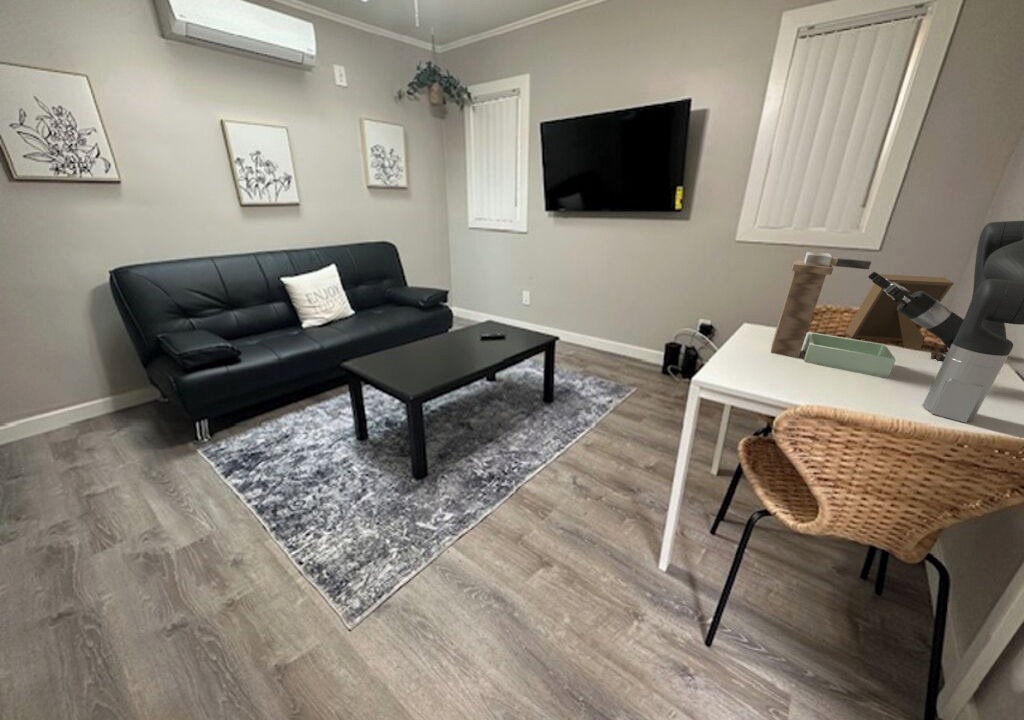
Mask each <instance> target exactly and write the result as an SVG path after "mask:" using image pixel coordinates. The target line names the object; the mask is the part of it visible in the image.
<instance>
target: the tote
mask: <svg viewBox="0 0 1024 720" xmlns="http://www.w3.org/2000/svg"><path fill="white" fill-rule="evenodd" d="M802 353H803V354H802V355H803V361H804V363H808V364H814V365H818V366H823V367H829V368H833V369H839V370H845V371H848V372H854V373H859V374H865V375H868V376H869V375H870V376H873V377H878V378H879V377H880V378H884V379H888V378H889V377H890V374H891V371H892V370H893V367H894V365H895V362H896V358H895V356H894V355H893V354H892V352H891V350H889V348H888V346H887V345H886V344H884V343H876V342H870V341H864V340H859V339H855V338H846V337H840V336H834V335H829V334H824V333H823V334H822V333H816V332H811V331H807V334H806V337H805V340H804V343H803V346H802Z"/></svg>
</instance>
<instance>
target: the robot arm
mask: <svg viewBox="0 0 1024 720" xmlns="http://www.w3.org/2000/svg"><path fill="white" fill-rule="evenodd" d="M973 273H974V275H973V291H972V296H971V300H970V303H969V305H968V309H967V312H966V313H965V316H964V318H963V317H961V316H960V315H958V314H957V313H955V312H953V311H951V310H950V309H949V308H948V307H947V306H946V305H944V304H943V303H942V302H939V301H937V300H936V299H934V298H933V297H931V296H930V295H928V294H927V293H925V292H924V291H917V292H915V293H913V294H912V295H909V294H908V293H909V292H910V291H908V290H907V289H906V288H904V287H901V286H900V285H898V284H897V283H895V282H891V281H889V279H885V278H884V277H882V276H881V275H880V273H877V272H876V271H873V272H871V273H870V274H869V275H868V276H867V277H868V279H870V280H871V281H872V284H874V283H875V284H876V285H878V286H879V287H881V288H882V289H883V291H884V292H886V293H887V295H889V296H890V297H891V298H892V299H893V300H895V301H896V302H897V301H898V300H899V301H900V302H901V303H900V304H899V305H898V307H897V311H899V312H900V313H902V314H903V315H905V316H906V317H907V318H909V319H910V320H912V321H913V322H915V323H916V324H918V325H920V326H922V328H923V329H925V330H926V331H928V332H930V333H931V334H933V335H934V336H936V337H937V338H939V339H940V340H941V342H942V343H943V344H944V346H945V347H946V348H947V349H948V350H949V351H948V353H947V352H946V355H945V356H946V357H945V359H944V361H943V362H941V365H940V368H939V369H938V372H937V374H936V376H935V378H934V380H933V382H932V385H931V387H930V388H929V390H928V392H927V395H926V397H925V399H924V401H923V403H922V407H923V408H924V410H927V411H928V412H930V414H932V415H936V416H939V417H943V418H947V419H950V420H955V421H958V422H962V423H965V424H966V423H967V422H971V421H974V419H975V418H976V415H977V414H978V412H979V410H980V409H981V407H982V405H983V402H984V401H985V399H986V397H987V395H989V394H988V393H989V392H990V390H991V388H992V386H993V384H994V383H995V381H996V379H997V377H998V376H999V374H1000V371H1001V370H1002V368H1003V366H1004V364H1005V363H1006V361H1007V359H1008V358H1009V355H1010V354H1011V352H1012V350H1013V347H1014V343H1013V342H1012V341H1011V340H1010V339H1008V338H1007V332H1006V325H1005V324H1009V325H1010V324H1011V325H1018V326H1019V325H1024V220H1010V221H1009V220H1007V221H1005V220H1003V221H991V222H988V223H986V224H985V225H984V227H983V228H982V230H981V232H980V235H979V237H978V242H977V248H976V255H975V264H974V272H973Z"/></svg>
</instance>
